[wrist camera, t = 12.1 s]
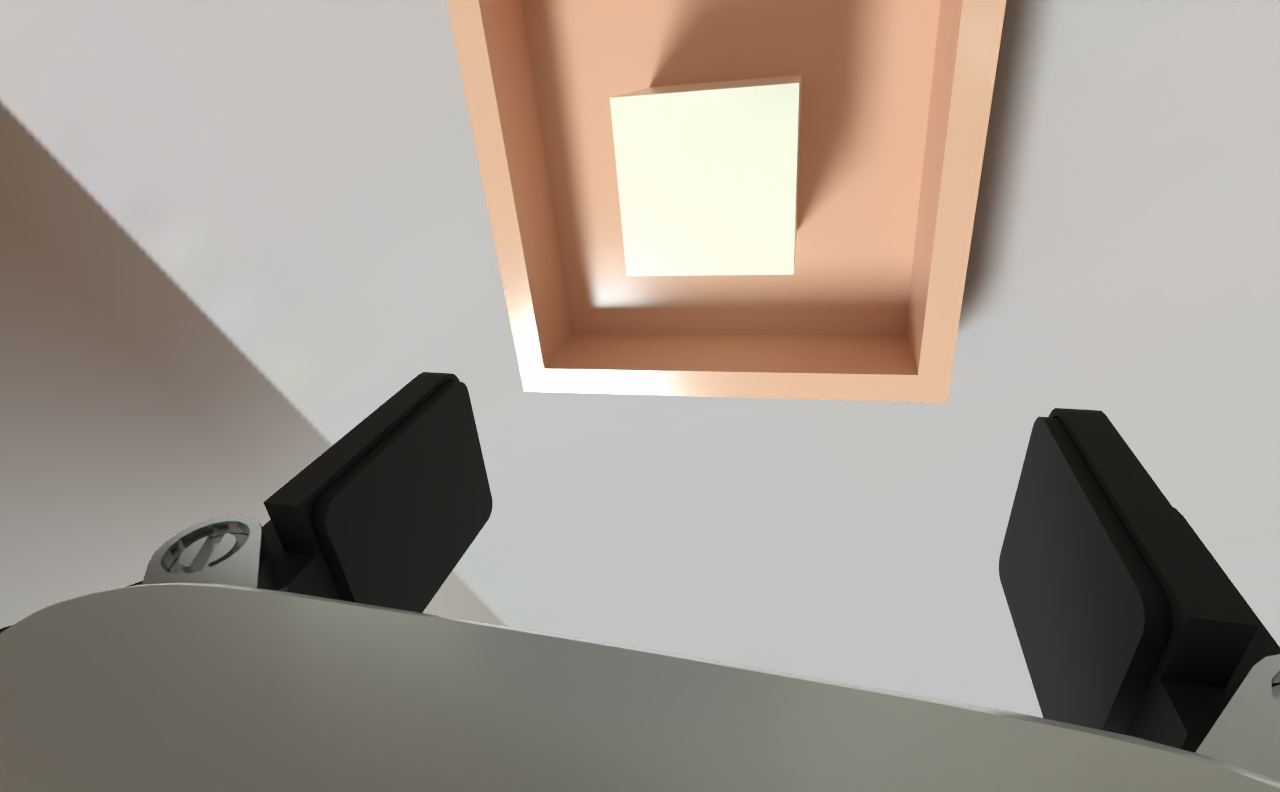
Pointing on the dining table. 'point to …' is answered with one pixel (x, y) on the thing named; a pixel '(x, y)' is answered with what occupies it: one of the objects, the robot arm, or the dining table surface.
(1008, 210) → the dining table surface
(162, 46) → the dining table surface
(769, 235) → the stone block
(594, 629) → the dining table surface
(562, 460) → the dining table surface
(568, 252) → the tub
